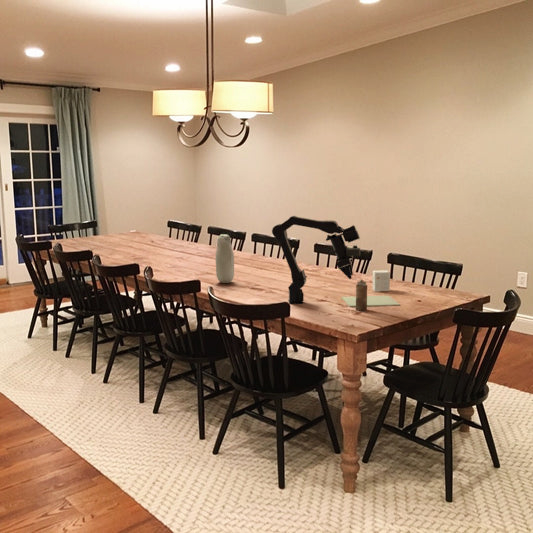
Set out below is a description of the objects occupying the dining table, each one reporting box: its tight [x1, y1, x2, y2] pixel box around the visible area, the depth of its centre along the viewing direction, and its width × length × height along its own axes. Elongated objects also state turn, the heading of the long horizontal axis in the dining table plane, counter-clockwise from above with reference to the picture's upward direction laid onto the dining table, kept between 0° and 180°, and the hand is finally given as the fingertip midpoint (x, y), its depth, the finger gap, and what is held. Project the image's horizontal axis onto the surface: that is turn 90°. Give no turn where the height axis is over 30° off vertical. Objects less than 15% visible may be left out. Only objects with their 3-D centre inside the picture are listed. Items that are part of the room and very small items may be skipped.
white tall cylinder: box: [215, 233, 235, 284], centre depth 313 cm, size 10×10×28 cm
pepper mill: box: [355, 279, 368, 312], centre depth 251 cm, size 5×5×14 cm
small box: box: [372, 269, 391, 293], centre depth 290 cm, size 8×6×10 cm
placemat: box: [341, 295, 400, 308], centre depth 267 cm, size 24×18×1 cm
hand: (351, 276), depth 260 cm, fingers open, 9 cm apart
